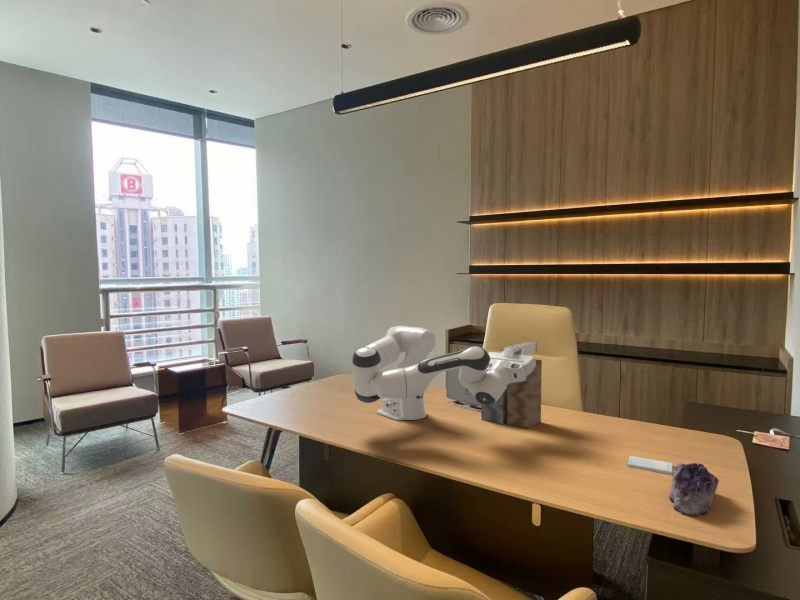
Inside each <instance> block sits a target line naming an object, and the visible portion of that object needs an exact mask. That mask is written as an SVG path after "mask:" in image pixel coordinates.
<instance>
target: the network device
mask: <svg viewBox="0 0 800 600" xmlns="http://www.w3.org/2000/svg"><path fill="white" fill-rule="evenodd" d="M459 371H460V368H457V369H453V370H449V371H446V387H445V388H446V389H445V391H446V398H447V399H448V400H449V399H450V400H452V401H451V402H450V405H451V404H453V405H452V406H455V405H456V406H455V407H458V406H460V407H459V408H462V407H464V408H463V409H466V408H467V409H466V410H470V409H471V411H473V412H474V411H475V412H481V409H478V408H474V407H481V403H479V402H478V401H477V400H476V399H475V397H474V395H473V394H472V393H471V392H470V391H469V390H467V389H465V388H464V387H462V386H461V385H460V383H459V380H458V377H459ZM459 401H460V402H459ZM456 402H458V403H464V404H458V403H456Z"/></svg>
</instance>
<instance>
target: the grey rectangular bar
mask: <svg viewBox="0 0 800 600" xmlns="http://www.w3.org/2000/svg"><path fill="white" fill-rule="evenodd" d="M520 349H524V351H525V353H524V355H525V356H529V355H531V354H535V353H538V342H535V341H533V342H532V341H525V342H521V343H518V344H514V345H509V346H505V347H503V351H504V356H507V357H514V355H515V354H516V355H520V353H519V351H520Z"/></svg>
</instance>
